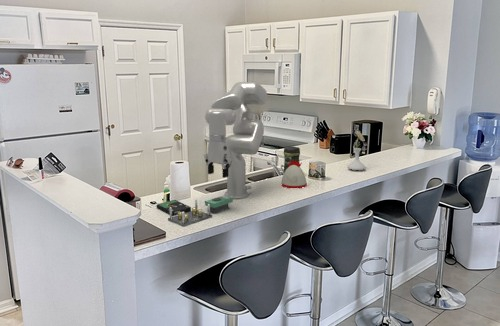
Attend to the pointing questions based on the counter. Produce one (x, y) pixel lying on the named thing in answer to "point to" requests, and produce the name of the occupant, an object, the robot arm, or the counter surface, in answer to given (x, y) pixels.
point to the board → (219, 201)
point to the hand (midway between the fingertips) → (218, 175)
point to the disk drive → (173, 207)
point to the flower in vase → (357, 156)
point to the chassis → (190, 216)
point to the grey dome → (294, 176)
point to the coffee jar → (290, 155)
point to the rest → (219, 208)
